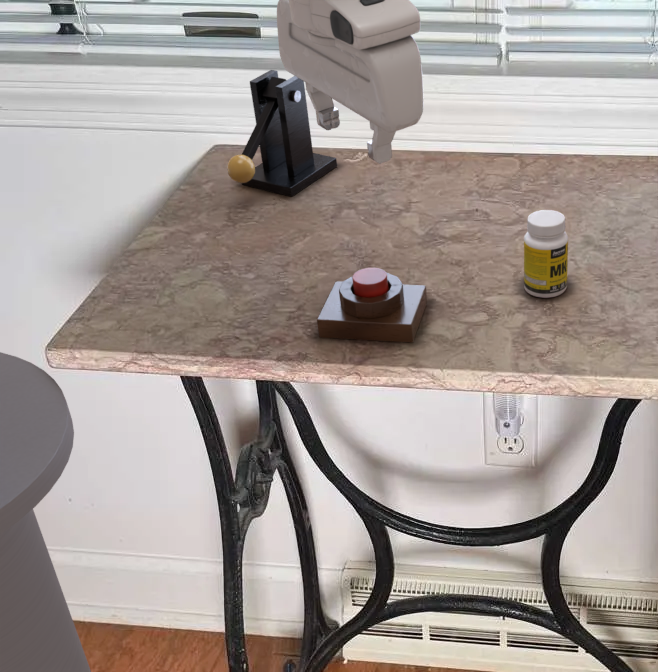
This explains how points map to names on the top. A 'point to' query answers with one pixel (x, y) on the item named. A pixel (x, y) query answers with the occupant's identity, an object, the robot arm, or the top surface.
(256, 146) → the lever
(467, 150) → the top surface
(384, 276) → the button
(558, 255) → the supplement bottle
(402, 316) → the button block
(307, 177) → the bracket
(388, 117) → the robot arm
